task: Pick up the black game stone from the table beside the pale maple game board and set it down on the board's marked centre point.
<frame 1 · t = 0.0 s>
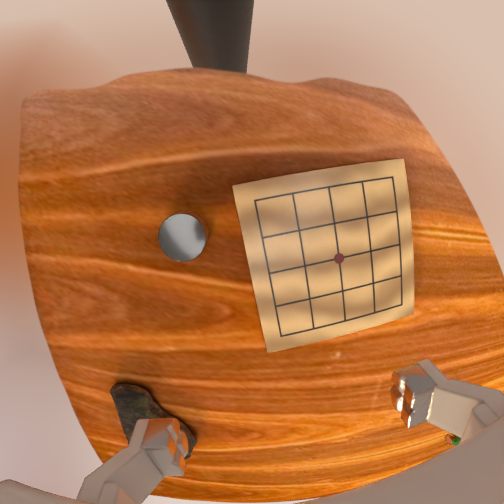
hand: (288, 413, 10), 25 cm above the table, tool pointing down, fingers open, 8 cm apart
game stone: (186, 232, 33), on the table
go board: (334, 255, 34), on the table
stone: (156, 421, 40), on the table
figurine: (459, 434, 47), on the table
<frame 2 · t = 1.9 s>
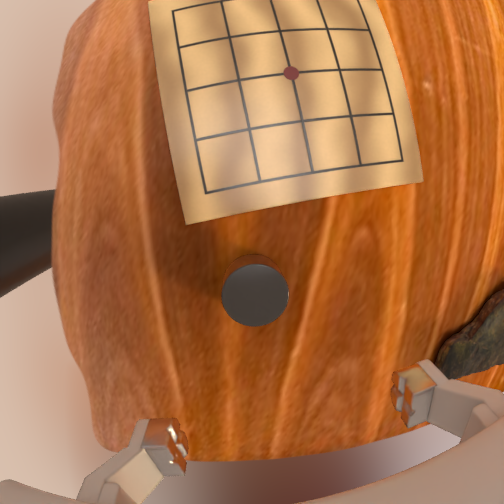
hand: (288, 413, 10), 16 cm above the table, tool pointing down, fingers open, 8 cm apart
game stone: (253, 283, 25), on the table
go board: (287, 79, 21), on the table
stone: (482, 327, 29), on the table
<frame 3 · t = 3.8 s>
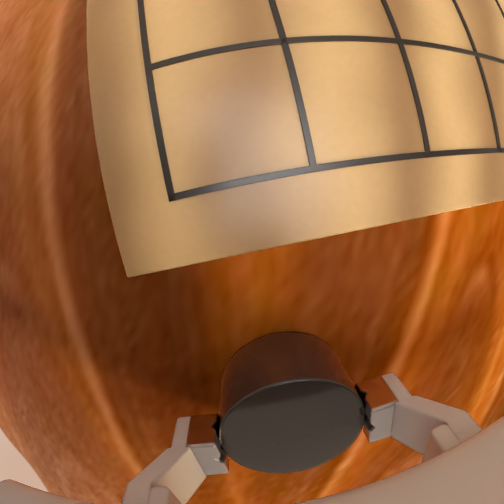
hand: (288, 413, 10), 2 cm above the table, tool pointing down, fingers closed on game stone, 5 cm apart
game stone: (283, 383, 11), on the table, touching gripper
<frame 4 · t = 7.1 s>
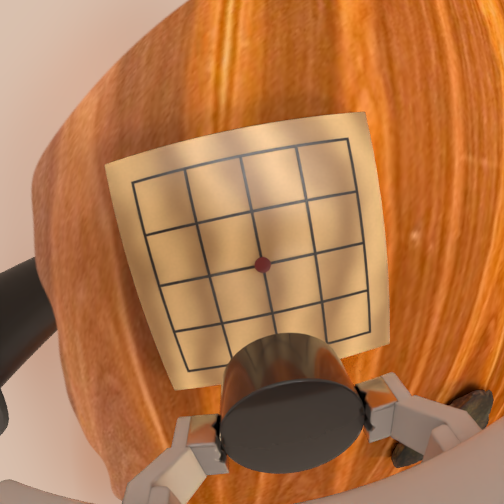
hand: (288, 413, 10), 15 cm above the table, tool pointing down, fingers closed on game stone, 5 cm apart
game stone: (283, 383, 12), point 13 cm above the table, touching gripper
go board: (261, 259, 24), on the table
stone: (443, 420, 31), on the table
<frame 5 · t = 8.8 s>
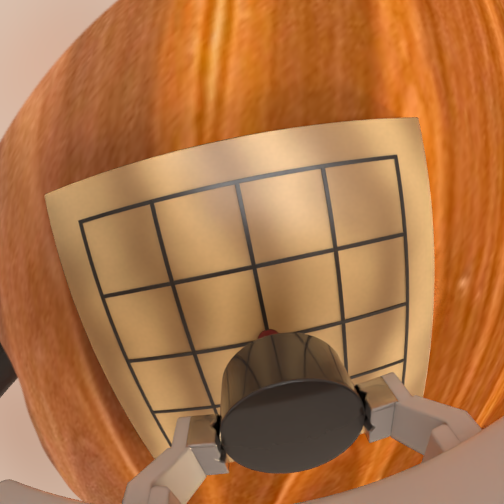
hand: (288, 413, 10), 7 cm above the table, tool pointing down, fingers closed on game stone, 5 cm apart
game stone: (283, 383, 11), point 5 cm above the table, touching gripper
go board: (266, 326, 17), on the table
when the fingers open (3 cm above the table, at t = 10.2 s): game stone stays where it is, resting on go board.
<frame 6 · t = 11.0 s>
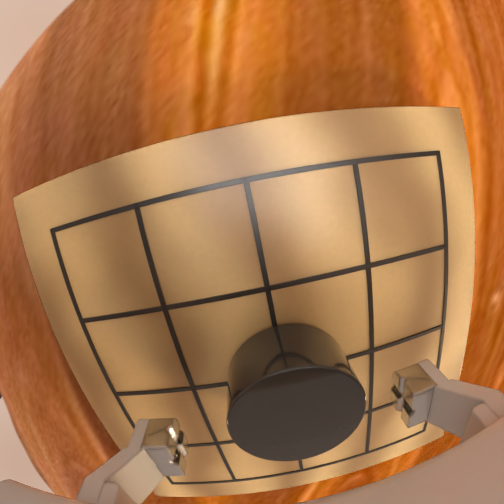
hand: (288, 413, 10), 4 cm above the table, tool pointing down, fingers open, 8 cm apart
game stone: (287, 374, 12), point 2 cm above the table, touching go board
go board: (279, 354, 14), on the table
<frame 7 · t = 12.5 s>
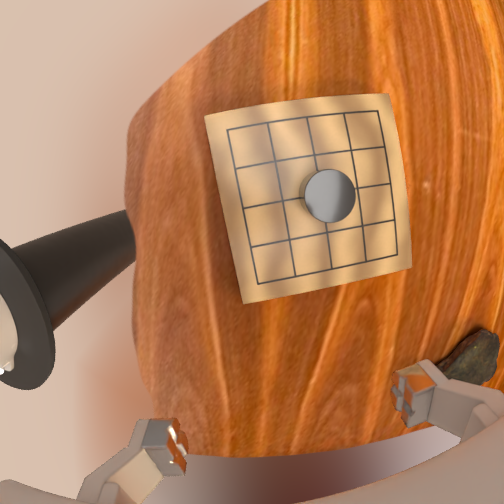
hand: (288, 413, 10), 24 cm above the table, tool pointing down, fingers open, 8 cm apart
game stone: (322, 194, 30), point 2 cm above the table, touching go board
go board: (317, 193, 31), on the table
stone: (457, 360, 38), on the table
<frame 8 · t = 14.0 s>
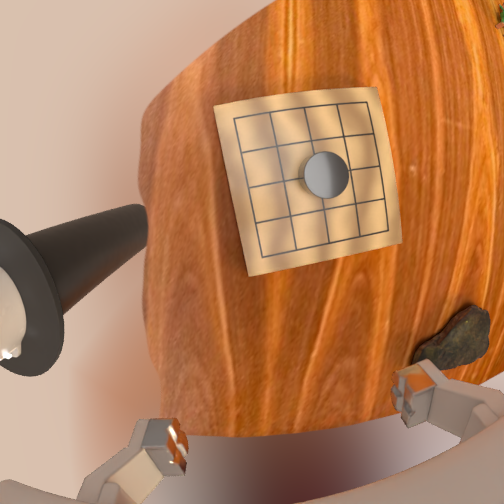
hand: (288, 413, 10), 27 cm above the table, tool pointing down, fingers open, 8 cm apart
game stone: (319, 175, 33), point 2 cm above the table, touching go board
go board: (314, 175, 34), on the table
stone: (450, 336, 41), on the table
figurine: (503, 19, 28), on the table
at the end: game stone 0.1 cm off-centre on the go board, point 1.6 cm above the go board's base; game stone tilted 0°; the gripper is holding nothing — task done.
